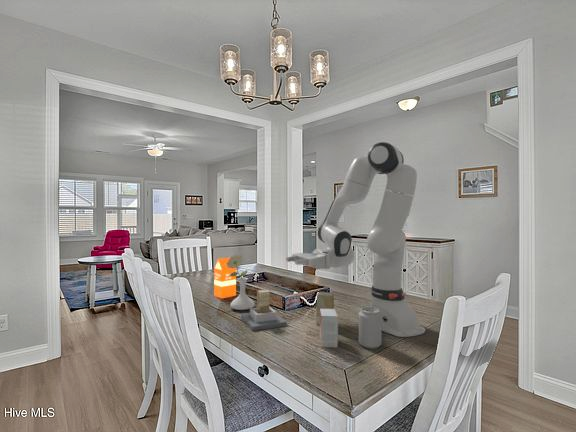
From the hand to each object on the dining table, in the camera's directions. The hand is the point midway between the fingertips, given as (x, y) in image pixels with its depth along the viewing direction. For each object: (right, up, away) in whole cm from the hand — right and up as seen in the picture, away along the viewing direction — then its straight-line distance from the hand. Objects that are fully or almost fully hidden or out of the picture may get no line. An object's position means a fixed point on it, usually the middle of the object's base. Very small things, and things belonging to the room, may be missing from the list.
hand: (290, 260), depth 131 cm
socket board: (-11, -24, -4) cm, 27 cm away
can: (+26, -25, -26) cm, 45 cm away
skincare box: (+14, -24, -7) cm, 29 cm away
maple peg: (-11, -22, -4) cm, 26 cm away
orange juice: (-35, -24, +35) cm, 54 cm away
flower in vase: (-23, -24, +12) cm, 35 cm away
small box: (+13, -25, -25) cm, 37 cm away
